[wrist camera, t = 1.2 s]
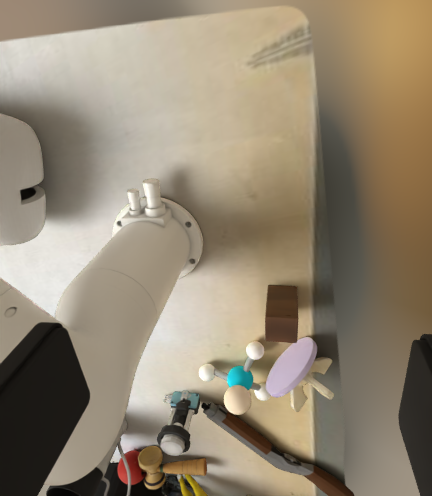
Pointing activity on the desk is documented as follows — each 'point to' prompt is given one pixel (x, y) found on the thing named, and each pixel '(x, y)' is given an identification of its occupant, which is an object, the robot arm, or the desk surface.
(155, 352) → the desk surface
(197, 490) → the figurine
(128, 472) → the glass holder
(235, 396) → the molecule model
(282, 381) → the toy table
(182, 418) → the push button
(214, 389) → the desk surface
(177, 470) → the kendama
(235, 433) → the gun
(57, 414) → the robot arm
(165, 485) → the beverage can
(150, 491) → the black cooking pot
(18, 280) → the desk surface
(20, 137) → the projector
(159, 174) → the desk surface
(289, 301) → the brown rectangular block
